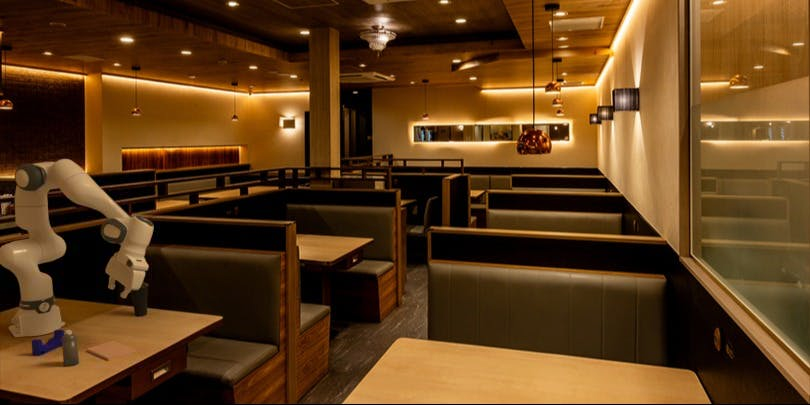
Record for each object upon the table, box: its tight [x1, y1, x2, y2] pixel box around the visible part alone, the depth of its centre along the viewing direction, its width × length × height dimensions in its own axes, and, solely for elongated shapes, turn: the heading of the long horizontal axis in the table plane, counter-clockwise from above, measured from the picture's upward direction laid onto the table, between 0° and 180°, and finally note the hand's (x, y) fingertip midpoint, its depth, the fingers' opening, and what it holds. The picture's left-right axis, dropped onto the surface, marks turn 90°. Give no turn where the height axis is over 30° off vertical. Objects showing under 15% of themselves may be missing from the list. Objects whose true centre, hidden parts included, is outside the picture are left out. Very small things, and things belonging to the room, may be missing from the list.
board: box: [86, 340, 137, 362], centre depth 209 cm, size 16×10×1 cm, turn 54°
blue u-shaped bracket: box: [30, 329, 65, 357], centre depth 212 cm, size 12×4×6 cm, turn 169°
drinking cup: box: [130, 281, 149, 317], centre depth 252 cm, size 8×8×20 cm
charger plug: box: [61, 329, 80, 368], centre depth 197 cm, size 5×5×12 cm
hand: (116, 293), depth 213 cm, fingers open, 8 cm apart
